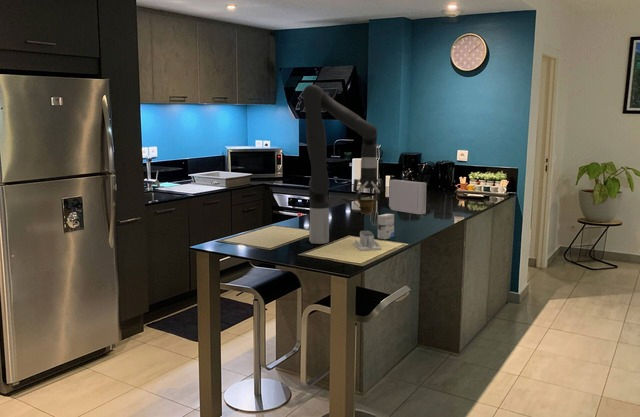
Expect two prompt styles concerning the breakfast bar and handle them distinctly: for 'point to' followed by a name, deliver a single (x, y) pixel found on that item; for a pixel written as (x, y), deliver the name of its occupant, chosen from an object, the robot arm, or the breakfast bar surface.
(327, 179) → the robot arm
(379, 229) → the ink box
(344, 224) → the breakfast bar surface
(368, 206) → the ceramic cup
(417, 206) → the game console
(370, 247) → the grey peg stand
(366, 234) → the drive
